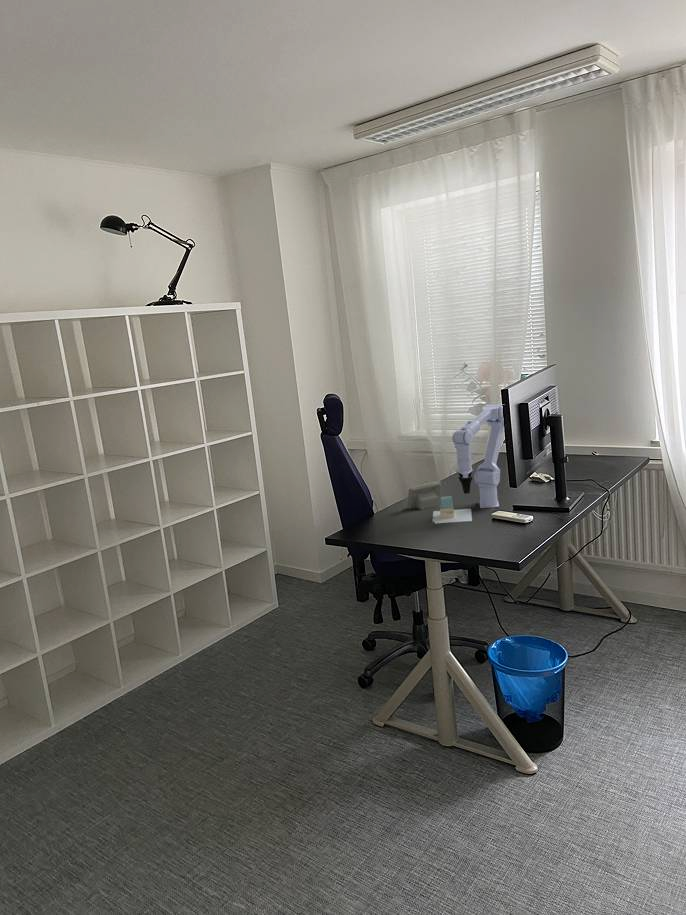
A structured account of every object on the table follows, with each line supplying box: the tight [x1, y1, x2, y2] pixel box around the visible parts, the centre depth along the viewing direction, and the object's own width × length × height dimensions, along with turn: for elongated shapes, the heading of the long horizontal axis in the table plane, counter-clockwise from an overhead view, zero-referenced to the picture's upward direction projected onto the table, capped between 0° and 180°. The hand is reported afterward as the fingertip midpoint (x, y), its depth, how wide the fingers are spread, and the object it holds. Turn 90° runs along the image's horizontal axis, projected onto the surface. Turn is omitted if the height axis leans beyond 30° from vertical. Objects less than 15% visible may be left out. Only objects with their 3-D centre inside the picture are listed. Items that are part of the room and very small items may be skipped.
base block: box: [439, 504, 455, 519], centre depth 296 cm, size 6×6×4 cm
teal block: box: [440, 495, 453, 509], centre depth 296 cm, size 4×4×4 cm
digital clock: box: [406, 481, 442, 510], centre depth 315 cm, size 16×9×11 cm, turn 102°
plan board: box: [432, 508, 473, 524], centre depth 297 cm, size 18×16×1 cm
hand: (466, 491), depth 294 cm, fingers open, 7 cm apart
